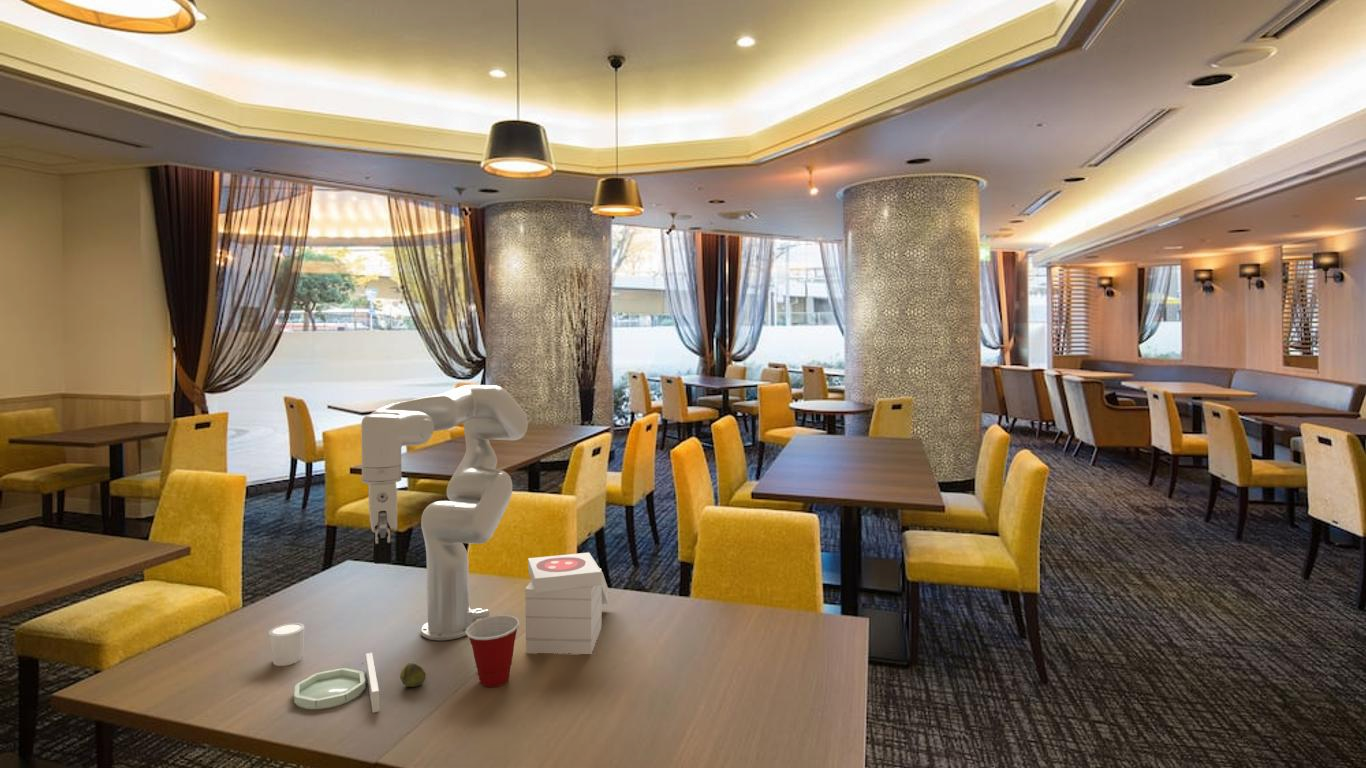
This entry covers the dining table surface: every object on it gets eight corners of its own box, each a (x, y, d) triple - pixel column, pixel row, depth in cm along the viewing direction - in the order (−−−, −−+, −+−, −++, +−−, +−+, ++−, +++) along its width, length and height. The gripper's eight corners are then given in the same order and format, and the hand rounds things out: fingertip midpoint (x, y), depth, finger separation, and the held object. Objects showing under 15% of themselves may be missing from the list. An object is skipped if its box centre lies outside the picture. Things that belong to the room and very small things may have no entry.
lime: (400, 683, 143) (400, 660, 143) (425, 679, 145) (425, 656, 145) (400, 694, 139) (399, 669, 139) (426, 689, 141) (425, 665, 141)
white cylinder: (289, 668, 150) (288, 636, 149) (262, 665, 151) (261, 633, 150) (312, 654, 156) (311, 623, 156) (286, 651, 158) (285, 621, 157)
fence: (372, 670, 149) (372, 652, 148) (379, 711, 133) (378, 690, 133) (366, 672, 148) (365, 653, 148) (372, 712, 132) (371, 692, 132)
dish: (363, 671, 148) (363, 663, 148) (367, 699, 137) (367, 690, 137) (294, 685, 142) (294, 676, 142) (292, 715, 131) (292, 706, 131)
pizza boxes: (616, 607, 185) (616, 539, 183) (598, 659, 155) (598, 579, 153) (544, 605, 185) (544, 538, 184) (512, 657, 155) (511, 577, 154)
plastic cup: (464, 673, 148) (463, 618, 147) (516, 664, 152) (515, 610, 151) (468, 698, 138) (467, 639, 137) (524, 688, 142) (523, 630, 141)
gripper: (403, 479, 138) (403, 565, 138) (399, 466, 154) (400, 543, 154) (361, 482, 135) (362, 570, 135) (362, 468, 150) (362, 547, 151)
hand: (382, 556), depth 145 cm, fingers open, 9 cm apart
